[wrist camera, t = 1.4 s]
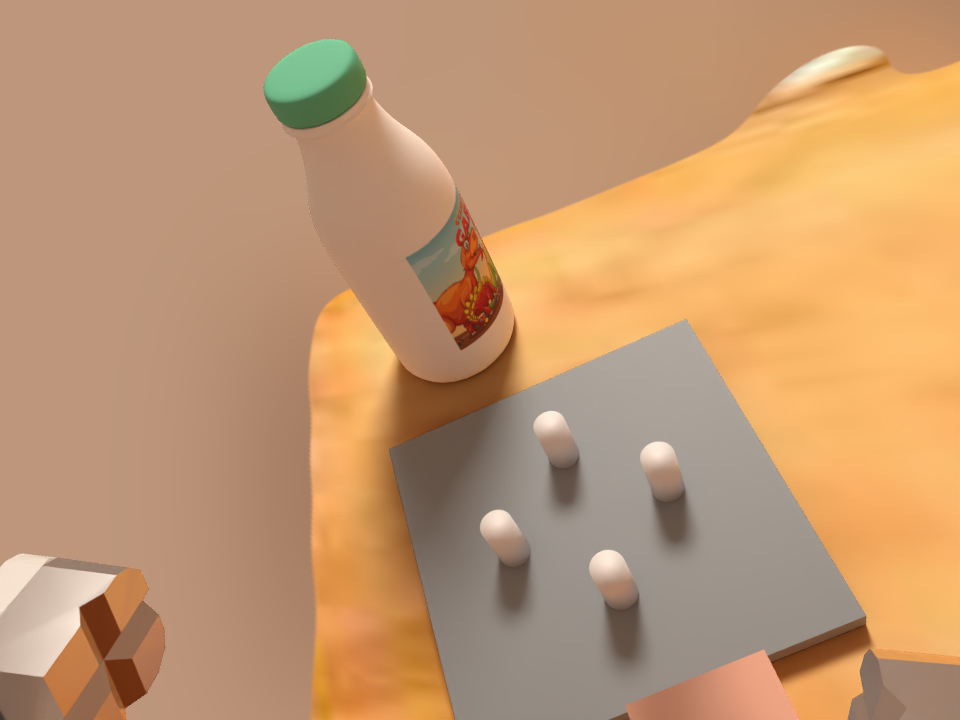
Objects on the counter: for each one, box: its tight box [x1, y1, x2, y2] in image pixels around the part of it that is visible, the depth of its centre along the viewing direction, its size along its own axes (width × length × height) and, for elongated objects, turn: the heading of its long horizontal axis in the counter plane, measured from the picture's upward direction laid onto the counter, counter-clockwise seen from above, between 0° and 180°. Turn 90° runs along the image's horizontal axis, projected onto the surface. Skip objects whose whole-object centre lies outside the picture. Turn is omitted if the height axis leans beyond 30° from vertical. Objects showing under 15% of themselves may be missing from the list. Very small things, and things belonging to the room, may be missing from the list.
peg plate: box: [389, 319, 866, 720], centre depth 42 cm, size 18×18×4 cm
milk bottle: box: [264, 39, 514, 383], centre depth 47 cm, size 8×8×20 cm
